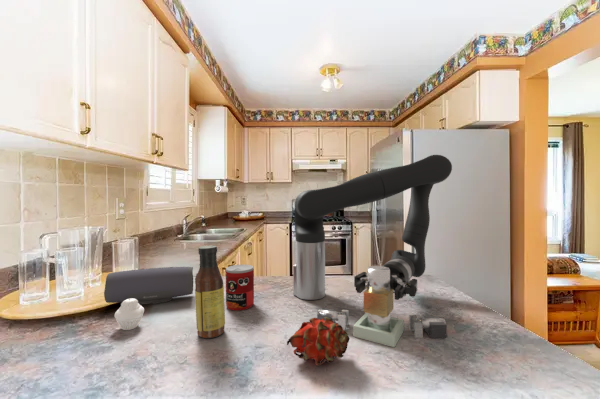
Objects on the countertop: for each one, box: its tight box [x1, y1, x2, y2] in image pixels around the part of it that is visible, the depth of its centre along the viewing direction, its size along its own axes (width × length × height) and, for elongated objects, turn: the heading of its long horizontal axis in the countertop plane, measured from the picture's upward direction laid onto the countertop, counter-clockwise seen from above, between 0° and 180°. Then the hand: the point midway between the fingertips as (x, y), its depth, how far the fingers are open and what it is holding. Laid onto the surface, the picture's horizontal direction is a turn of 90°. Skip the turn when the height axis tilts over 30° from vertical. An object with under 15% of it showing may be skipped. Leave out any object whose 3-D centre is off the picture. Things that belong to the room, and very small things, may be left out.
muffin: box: [114, 298, 145, 331], centre depth 69 cm, size 6×6×7 cm
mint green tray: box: [352, 312, 405, 348], centre depth 66 cm, size 9×9×2 cm
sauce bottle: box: [194, 245, 226, 339], centre depth 66 cm, size 6×6×20 cm
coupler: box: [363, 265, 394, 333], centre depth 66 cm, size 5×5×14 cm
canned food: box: [225, 264, 255, 312], centre depth 83 cm, size 8×8×11 cm
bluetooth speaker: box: [103, 266, 194, 305], centre depth 87 cm, size 23×9×10 cm, turn 108°
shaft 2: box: [408, 314, 448, 340], centre depth 65 cm, size 7×4×3 cm, turn 88°
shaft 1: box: [316, 307, 350, 332], centre depth 70 cm, size 7×4×3 cm, turn 68°
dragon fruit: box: [286, 317, 351, 367], centre depth 55 cm, size 8×8×12 cm
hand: (376, 291), depth 64 cm, fingers open, 8 cm apart
